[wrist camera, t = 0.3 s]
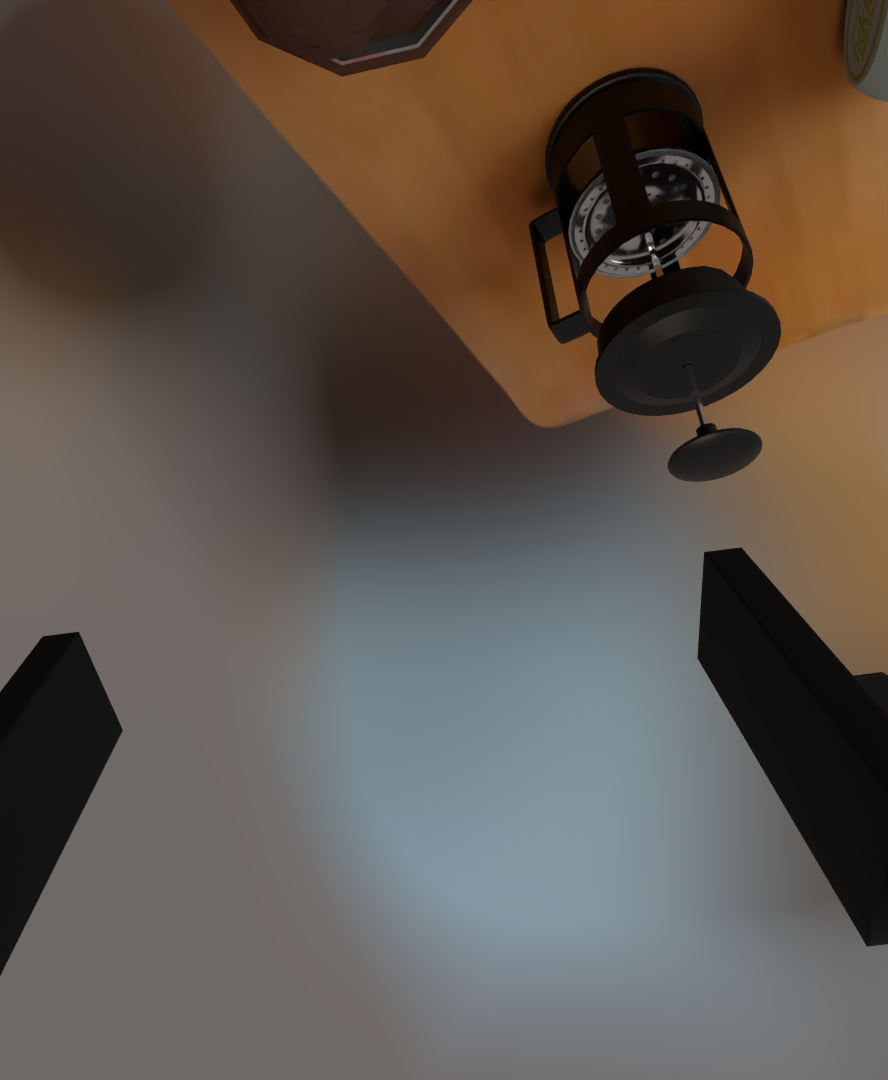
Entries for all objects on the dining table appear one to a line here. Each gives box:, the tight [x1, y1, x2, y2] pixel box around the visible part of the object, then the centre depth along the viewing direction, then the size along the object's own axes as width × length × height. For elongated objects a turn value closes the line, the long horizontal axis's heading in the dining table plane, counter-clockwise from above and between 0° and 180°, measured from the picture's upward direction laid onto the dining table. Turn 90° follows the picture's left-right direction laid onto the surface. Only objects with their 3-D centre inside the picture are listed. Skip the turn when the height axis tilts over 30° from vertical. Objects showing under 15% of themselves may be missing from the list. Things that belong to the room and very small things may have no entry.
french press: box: [529, 68, 781, 482], centre depth 38 cm, size 12×9×23 cm
